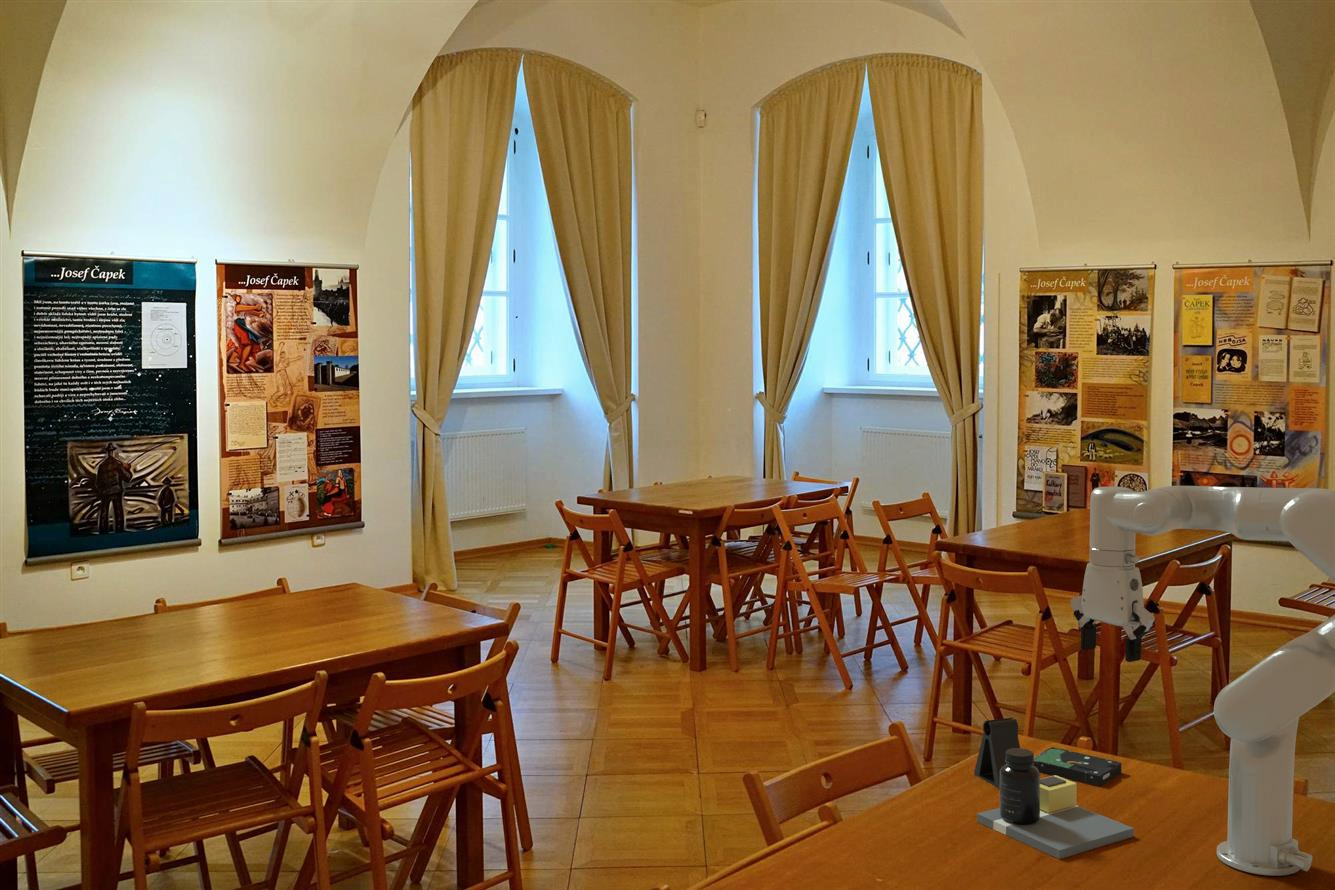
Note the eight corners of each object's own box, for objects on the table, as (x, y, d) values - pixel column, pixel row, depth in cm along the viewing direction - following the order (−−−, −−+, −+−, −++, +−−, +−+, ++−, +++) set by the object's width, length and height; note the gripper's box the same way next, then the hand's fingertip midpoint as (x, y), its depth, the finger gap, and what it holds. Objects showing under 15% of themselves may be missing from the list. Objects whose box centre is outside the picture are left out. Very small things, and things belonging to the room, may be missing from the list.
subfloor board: (1133, 836, 218) (1133, 828, 218) (1059, 859, 209) (1059, 850, 209) (1049, 802, 234) (1049, 794, 234) (977, 821, 225) (977, 813, 225)
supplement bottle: (1012, 808, 227) (1013, 743, 226) (1047, 818, 223) (1048, 751, 222) (991, 818, 223) (992, 752, 222) (1026, 829, 218) (1027, 761, 217)
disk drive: (1122, 775, 250) (1050, 758, 260) (1122, 762, 250) (1051, 745, 260) (1100, 790, 242) (1027, 771, 252) (1100, 775, 242) (1028, 758, 252)
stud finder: (1076, 804, 228) (1076, 781, 228) (1048, 812, 224) (1048, 788, 224) (1055, 796, 232) (1055, 773, 232) (1027, 803, 229) (1027, 780, 228)
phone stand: (1026, 785, 243) (1027, 724, 242) (999, 789, 241) (1000, 728, 240) (1000, 770, 252) (1001, 711, 251) (973, 774, 250) (974, 714, 249)
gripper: (1168, 563, 214) (1166, 662, 216) (1087, 549, 229) (1086, 642, 231) (1138, 567, 211) (1136, 668, 212) (1058, 553, 226) (1057, 647, 227)
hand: (1110, 654), depth 221 cm, fingers open, 9 cm apart
